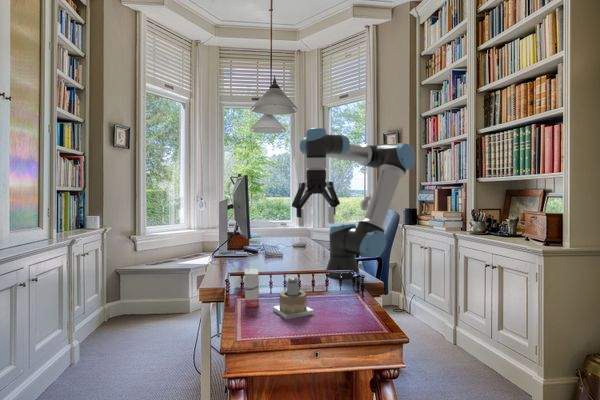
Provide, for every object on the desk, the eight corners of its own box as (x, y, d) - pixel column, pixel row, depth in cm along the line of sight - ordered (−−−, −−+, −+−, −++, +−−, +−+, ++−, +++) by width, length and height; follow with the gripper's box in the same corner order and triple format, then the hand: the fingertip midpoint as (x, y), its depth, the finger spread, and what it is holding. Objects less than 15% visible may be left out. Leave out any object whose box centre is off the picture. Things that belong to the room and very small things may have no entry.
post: (298, 306, 150) (298, 273, 149) (313, 314, 142) (313, 280, 141) (273, 310, 145) (272, 277, 145) (286, 319, 137) (286, 284, 136)
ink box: (258, 307, 149) (258, 273, 149) (244, 307, 149) (244, 274, 148) (259, 299, 158) (258, 268, 157) (245, 300, 158) (245, 268, 157)
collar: (297, 302, 149) (297, 288, 149) (310, 309, 142) (310, 294, 141) (276, 306, 145) (276, 292, 145) (287, 314, 138) (287, 298, 137)
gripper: (337, 169, 172) (337, 221, 174) (282, 169, 160) (283, 225, 162) (348, 169, 166) (348, 223, 168) (292, 169, 154) (292, 228, 155)
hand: (316, 224), depth 165 cm, fingers open, 13 cm apart
